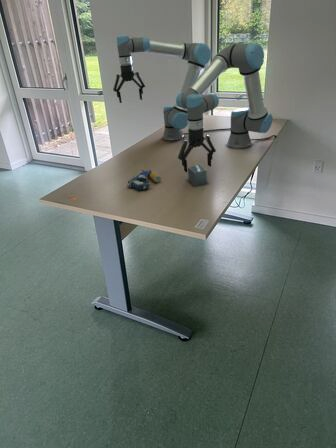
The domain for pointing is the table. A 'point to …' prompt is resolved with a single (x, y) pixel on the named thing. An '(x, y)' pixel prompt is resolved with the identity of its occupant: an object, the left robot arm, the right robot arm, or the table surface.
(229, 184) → the table surface
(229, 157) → the table surface
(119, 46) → the left robot arm
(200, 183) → the brick
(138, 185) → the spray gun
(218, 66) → the right robot arm
